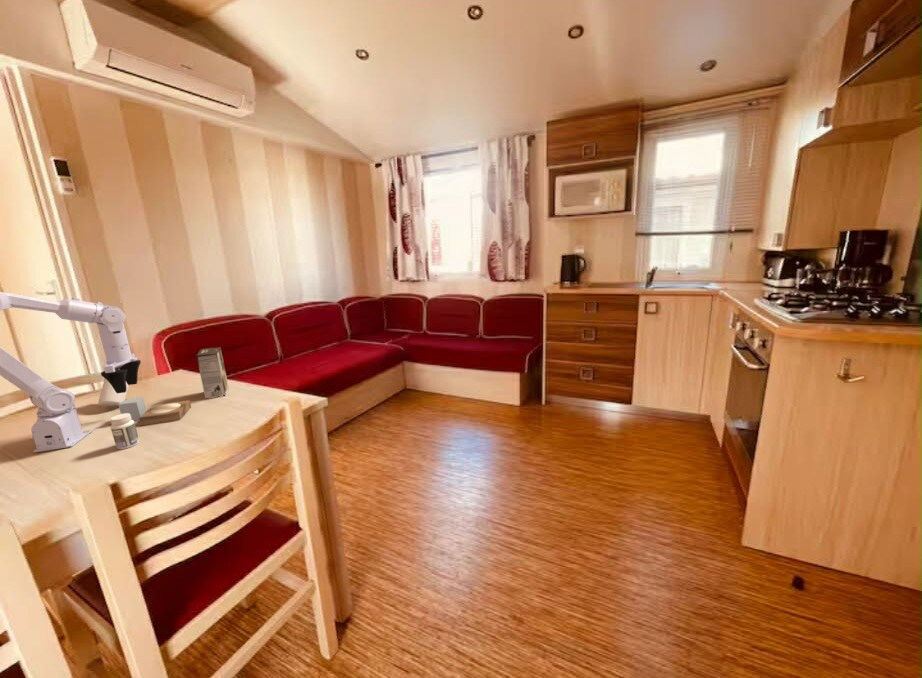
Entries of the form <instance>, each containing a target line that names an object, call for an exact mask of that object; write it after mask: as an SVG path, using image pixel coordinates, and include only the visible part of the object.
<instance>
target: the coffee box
mask: <svg viewBox="0 0 922 678" xmlns="http://www.w3.org/2000/svg"><path fill="white" fill-rule="evenodd" d="M196 359H197V366H198V370H199V375H200V380H201V384H202V385H201V386H202V388H203V395H204V399H205V400H207V399H206V398H209V399H213V398H212V397H215V398H218V397H217V396H221V397H223V396H222V395H225V394H226V395H227V393H228V391H229V382H228V378H227V373H226V368H225V362H224V357H223V353H222V348H221V346H219V347H209V348H208V347H207V348H202V349H200V350H199V351H198V353H197V354H196ZM226 392H227V393H226Z"/></svg>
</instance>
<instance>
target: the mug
mask: <svg viewBox="0 0 922 678" xmlns="http://www.w3.org/2000/svg"><path fill="white" fill-rule="evenodd" d="M103 378H104V377H103ZM129 387H130V385H128V384H127V382H126V392H124V393H116V392H115V390H114V388H113V387H112V385H111V384H110V383H109V382H108V381H107V380H106V379H105V378H104V379H103V383H102V387H101V390H100V393H99V394H100V395H99V396H98V397H99V399H98V401H97V402H98V404H99V405H103V406H107V407H108V406H109V407H112V406H113V407H119V404H120V403H121V402H123V401H124V400H125V399H126V398H127V393H128V390H129Z"/></svg>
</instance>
